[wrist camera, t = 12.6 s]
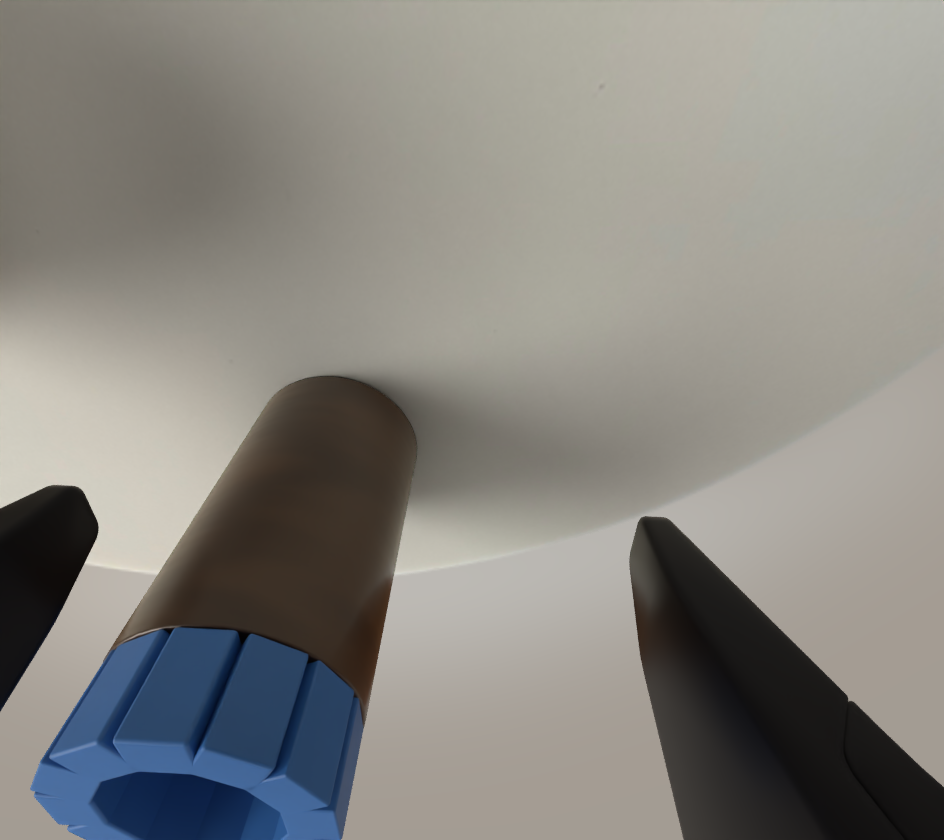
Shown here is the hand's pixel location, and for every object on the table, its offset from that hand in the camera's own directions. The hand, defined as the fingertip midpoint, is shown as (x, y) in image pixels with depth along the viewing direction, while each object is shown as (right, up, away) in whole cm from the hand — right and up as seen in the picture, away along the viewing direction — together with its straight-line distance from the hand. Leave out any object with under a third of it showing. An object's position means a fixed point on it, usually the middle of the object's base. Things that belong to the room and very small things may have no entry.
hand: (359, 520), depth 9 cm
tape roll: (-4, -6, +5) cm, 9 cm away
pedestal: (-4, +1, +15) cm, 15 cm away
